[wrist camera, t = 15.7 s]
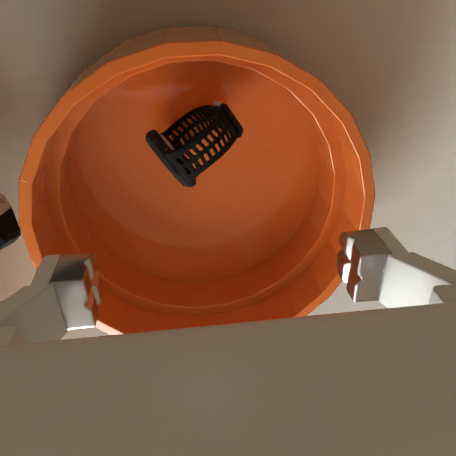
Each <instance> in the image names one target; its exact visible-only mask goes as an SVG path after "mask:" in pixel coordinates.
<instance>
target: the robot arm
mask: <svg viewBox="0 0 456 456" xmlns="http://www.w3.org/2000/svg"><path fill="white" fill-rule="evenodd" d="M339 243H340V245H341V247H342V249H341V250H340V252H339V253H338V255H337V268H338V273H339V276H340V278H341V280H342V281H344V282H345V283H347V291H348V293H349V294H350V296H351V298H352V300H353V302H363V301H377V300H379V302H380V303H382V304H383V305H385V306H386V307H388V308H386V309H375V310H365V311H355V312H345V313H334V314H324V315H314V316H304V317H294V318H283V319H273V320H263V321H253V322H242V323H232V324H222V325H211V326H201V327H191V328H181V329H170V330H160V331H150V332H140V333H129V334H119V335H109V336H99V337H88V338H78V339H68V340H60V339H61V338H62V337H63V336H64V335H65V334H66V333H67V332H68V331H67V330H73V329H82V328H90V327H95V326H96V321H97V317H98V313H99V311H98V307H97V305H99V304H100V303H101V299H102V280H101V276H100V274H99V273H98V272H97V271H96V267H97V259H96V255H95V254H94V252H87V253H72V254H56V255H46V256H44V257H43V259H42V261H41V264H40V266H39V268H38V270H37V272H36V274H35V276H34V278H33V280H32V283H31V285H30V286H25V287H23V288H22V289H20V290H19V291H17V292H16V293H14V294H13V295H11V296H10V297H8V298H7V299H5V300H4V301H2V302H1V303H0V456H456V270H454V269H451V268H449V267H446V266H444V265H442V264H439V263H437V262H435V261H432V260H430V259H428V258H425V257H423V256H420V255H418V254H416V253H413V252H411V253H408V251H407V250H406V249H405V248H404V247H403V246H402V244H401V243H400V242H399V241H398V240H397V238H396V237H395V236H394V235H393V234H392V233H391V231H390V230H389V229H388V228H386V227H382V228H374V229H366V230H356V231H347V232H341V235H340V239H339Z"/></svg>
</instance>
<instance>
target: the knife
mask: <svg viewBox="0 0 456 456" xmlns="http://www.w3.org/2000/svg"><path fill="white" fill-rule="evenodd" d="M20 235H21V233H20V228H19V226H18V223H17V220H16V218H15V215H14V213H13V210H12V207H11V206H10V204H9V203H8V201H7V199H6V198H5V196H4V195H2V194H1V193H0V250H1V249H3V248H5V247H6V246H8V245H10V244H12V243H14V242H15V241H16V240H17V239H18V237H19V236H20Z"/></svg>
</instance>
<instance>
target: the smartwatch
mask: <svg viewBox="0 0 456 456" xmlns="http://www.w3.org/2000/svg"><path fill="white" fill-rule="evenodd" d="M214 104H215V106H212V105H204V106H201V107H197V108H195V109H193V110H191V111H190V112H188V113H186V114H185V115H184V116H182V117H181V118H180V119H179V120H177V121H176V122H175V123H174V124H172V125H171V126H170V127H169V128H168V129H166V130H165V131H164V132H162V133H161V134H159V132H158V131H157V130H150V131H149V132H148V133H146V142H147V143H148V145H149V146H150V148H151V149H152V150H153V151H154V153H155V154H156V155H157V157H158V158H159V159H160V160H161V161H162V163H163V164H164V165H165V166H166V168H167V169H168V170H169V171H170V172H171V173H172V175H173V176H174V177H175V178H176V179H177V180H178V181H179V182H180V183H181V184H182V185H183V186H184V187H193V186H195V185H196V177H197V176H198V175H200V174H201V173H202V172H203V171H205V170H206V169H207V168H209V167H210V166H211V165H212V164H214V163H215V162H216V161H217V160H219V159H220V158H221V157H222V156H223V155H224V154H225V153H226V152H227V151H228V150H229V149H230V148H231V146H232V145H233V144H234V142H235V141H236V139H237V138H240V137H241V136H242V133H243V130H244V129H243V127H242V126H241V124H240V123H239V121H238V120H237V119H236V117H235V116H234V114H233V113H232V111H231V110H230V108H229V107H228V106H227V104H225V103H220V102H218V101H214ZM205 113H206V114H205ZM209 113H210V114H209ZM196 114H198V115H199V116H200V118H201V119H200V118H199V117H198V116H197V115H196ZM201 114H202V115H203V116H204V117H203V116H202V115H201ZM191 116H194V117H195V118H196V119H197V121H195V120H194V119H193V118H192V117H191ZM187 119H190V120H191V121H192V122H193V124H190V123H189V122H188V121H187ZM207 121H208V123H209V124H210V125H209V124H208V123H207ZM211 121H212V122H211ZM183 122H185V123H186V124H187V125H188V128H186V127H185V126H184V125H183V124H182V123H183ZM203 122H204V123H205V124H206V126H207V127H205V125H204V124H203ZM198 124H201V126H202V128H203V130H201V128H200V127H199V125H198ZM179 126H180V127H181V128H182V129H183V132H181V131H180V130H179V129H178V127H179ZM194 127H197V129H198V130H199V132H198V133H196V131H195V129H194ZM218 129H221V132H220V131H219V130H218ZM174 130H175V131H176V132H177V133H178V135H176V134H174V133H173V131H174ZM190 130H192V131H193V133H194V136H193V137H192V136H191V134H190V132H189V131H190ZM212 130H214V131H215V132H216V133H217V134H218V136H217V137H216V136H215V135H214V134H213V133H212ZM228 132H229V134H230V136H231V138H230V136H229V134H228ZM185 134H187V136H188V137H189V140H187V139H186V137H185ZM169 135H170V136H171V137H172V138H173V140H172V139H171V138H170V137H169ZM208 135H210V136H211V137H212V138H213V141H212V142H211V141H210V140H209V139H208V138H207V136H208ZM224 135H225V136H226V138H227V140H228V142H227V141H226V139H225V137H224ZM181 138H182V140H183V141H184V145H183V144H182V142H181V141H180V139H181ZM203 139H205V140H206V142H207V143H208V146H205V145H204V144H203V143H202V142H201V141H202V140H203ZM220 140H222V142H223V143H224V146H222V144H221V142H220ZM176 144H177V145H176ZM197 144H198V145H199V146H200V147H202V148H203V150H201V151H200V150H199V149H198V148H196V145H197ZM216 144H217V145H218V147H219V148H220V151H219V152H218V150H217V149H216V147H215V145H216ZM190 149H192V150H193V151H194V152H195V153H196V155H193V154H192V153H191V152H190V151H189V150H190ZM210 149H213V151H214V153H215V155H213V156H212V154H211V152H210ZM184 154H185V155H187V156H188V157H189V159H188V158H187V157H186V156H185V155H184ZM204 154H207V155H208V157H209V161H206V159H205V158H204ZM199 158H200V159H201V161H202V162H203V165H200V163H199V161H198V160H199ZM193 163H194V165H195V166H196V168H194V167H193V165H192V164H193Z"/></svg>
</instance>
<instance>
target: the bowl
mask: <svg viewBox="0 0 456 456" xmlns="http://www.w3.org/2000/svg"><path fill="white" fill-rule="evenodd" d="M214 101H218V102H220V103H225V104H227V106H228V107H229V108H230V110H231V111H232V113H233V114H234V116H235V117H236V119H237V120H238V121H239V123H240V124H241V126H242V127H243V129H244V130H243V133H242V136H241V137H240V138H237V139H236V141H235V142H234V144H233V145H232V146H231V148H230V149H229V150H228V151H227V152H226V153H225V154H224V155H223V156H222V157H221V158H220V159H219V160H217V161H216V162H215V163H214V164H212V165H211V166H210V167H209V168H207V169H206V170H205V171H203V172H202V173H201V174H200V175H198V176H197V177H196V185H195V186H193V187H184V186H183V185H182V184H181V183H180V182H179V181H178V180H177V179H176V178H175V177H174V176H173V175H172V173H171V172H170V171H169V170H168V169H167V168H166V166H165V165H164V164H163V163H162V161H161V160H160V159H159V158H158V157H157V155H156V154H155V153H154V151H153V150H152V149H151V148H150V146H149V145H148V143H147V142H146V133H148V132H149V131H150V130H157V131H158V132H159V134H161V133H162V132H164V131H165V130H166V129H168V128H169V127H170V126H171V125H172V124H174V123H175V122H176V121H177V120H179V119H180V118H181V117H182V116H184V115H185V114H186V113H188V112H190V111H191V110H193V109H195V108H197V107H201V106H204V105H212V106H215V104H214ZM205 114H206V113H205ZM209 114H210V113H209ZM196 115H197V116H198V117H199V118H200V116H199V115H198V114H196ZM201 115H202V114H201ZM202 116H203V115H202ZM191 117H192V118H193V119H194V120H195V121H197V119H196V118H195V117H194V116H191ZM203 117H204V116H203ZM200 119H201V118H200ZM187 121H188V122H189V123H190V124H193V122H192V121H191V120H190V119H187ZM211 122H212V121H211ZM207 123H208V121H207ZM182 124H183V125H184V126H185V127H186V128H188V125H187V124H186V123H185V122H183V123H182ZM203 124H204V125H205V127H207V126H206V124H205V123H204V122H203ZM208 124H209V123H208ZM198 125H199V127H200V128H201V130H203V128H202V126H201V124H198ZM209 125H210V124H209ZM178 129H179V130H180V131H181V132H183V129H182V128H181V127H180V126H179V127H178ZM194 129H195V131H196V133H198V132H199V130H198V129H197V127H194ZM218 130H219V131H220V132H221V129H218ZM189 132H190V134H191V136H192V137H193V136H194V133H193V131H192V130H190V131H189ZM173 133H174V134H176V135H178V133H177V132H176V131H175V130H174V131H173ZM212 133H213V134H214V135H215V136H216V137H217V136H218V134H217V133H216V132H215V131H214V130H212ZM228 134H229V132H228ZM229 136H230V134H229ZM169 137H170V138H171V139H172V140H173V138H172V137H171V136H170V135H169ZM185 137H186V139H187V140H189V137H188V136H187V134H185ZM224 137H225V139H226V141H227V142H228V140H227V138H226V136H225V135H224ZM207 138H208V139H209V140H210V141H211V142H212V141H213V138H212V137H211V136H210V135H208V136H207ZM230 138H231V136H230ZM180 141H181V142H182V144H183V145H184V141H183V140H182V138H181V139H180ZM201 142H202V143H203V144H204V145H205V146H208V143H207V142H206V140H205V139H203V140H202V141H201ZM220 142H221V144H222V146H224V143H223V142H222V140H220ZM176 145H177V144H176ZM215 147H216V149H217V150H218V152H219V151H220V148H219V147H218V145H217V144H216V145H215ZM196 148H198V149H199V150H200V151H201V150H203V148H202V147H200V146H199V145H198V144H197V145H196ZM189 151H190V152H191V153H192V154H193V155H196V153H195V152H194V151H193V150H192V149H190V150H189ZM210 152H211V154H212V156H213V155H215V153H214V151H213V149H210ZM184 155H185V154H184ZM185 156H186V157H187V158H188V159H189V157H188V156H187V155H185ZM204 158H205V159H206V161H209V157H208V155H207V154H204ZM198 161H199V163H200V165H203V162H202V161H201V159H200V158H199V160H198ZM192 165H193V167H194V168H196V166H195V165H194V163H193V164H192ZM374 200H375V189H374V180H373V172H372V164H371V156H370V152H369V150H368V148H367V146H366V144H365V141H364V139H363V137H362V135H361V133H360V131H359V128H358V126H357V124H356V122H355V120H354V117H353V115H352V114H351V112H350V111H349V110H348V109H347V108H346V107H345V106H344V105H343V104H342V103H341V102H340V100H339V99H338V98H337V97H336V96H335V95H334V94H333V93H332V92H331V91H330V89H329V88H328V87H327V86H326V85H325V84H324V83H323V82H322V81H321V80H320V79H319V78H318V77H316V76H315V75H313V74H312V73H311V72H309V71H308V70H307V69H305V68H304V67H302V66H301V65H300V64H298V63H297V62H296V61H294V60H293V59H291V58H290V57H289V56H287V55H285V54H283V53H282V52H280V51H278V50H277V49H275V48H273V47H272V46H270V45H268V44H266V43H265V42H263V41H261V40H260V39H258V38H256V37H253V36H251V35H247V34H243V33H239V32H235V31H231V30H227V29H223V28H219V27H215V26H209V25H208V26H187V27H166V28H165V29H164V28H162V29H159V30H156V31H153V32H150V33H147V34H144V35H142V36H139V37H136V38H133V39H130V40H127V41H124V42H122V43H120V44H119V45H117V46H116V47H114V48H113V49H112V50H110V51H109V52H108V53H106V54H105V55H104V56H102V57H101V58H99V59H98V60H97V61H95V62H94V63H93V64H91V65H90V66H89V67H87V68H86V69H85V70H84V71H83V72H82V74H81V75H80V76H79V77H78V78H77V79H76V81H75V82H74V83H73V84H72V85H71V86H70V87H69V89H68V90H67V91H66V92H65V93H64V94H63V96H62V97H61V98H60V100H59V101H58V102H57V104H56V105H55V106H54V108H53V109H52V111H51V112H50V113H49V115H48V116H47V117H46V119H45V120H44V121H43V123H42V124H41V125H40V127H39V128H38V130H37V131H36V132H35V134H34V136H33V138H32V141H31V144H30V147H29V150H28V153H27V156H26V159H25V163H24V166H23V169H22V172H21V175H20V178H19V224H20V228H21V231H22V234H23V237H24V240H25V243H26V246H27V249H28V252H29V255H30V258H31V261H32V263H33V265H34V266H35V268H36V269H37V270H38V268H39V266H40V264H41V261H42V259H43V257H44V256H46V255H56V254H72V253H87V252H94V254H95V255H96V259H97V267H96V271H97V272H98V273H99V274H100V276H101V280H102V299H101V303H100V304H99V305H97V307H98V311H99V313H98V317H97V321H96V326H95V327H96V328H98V329H100V330H102V331H104V332H106V333H108V334H110V335H119V334H129V333H140V332H150V331H160V330H170V329H181V328H191V327H201V326H211V325H222V324H232V323H242V322H253V321H263V320H273V319H283V318H294V317H304V316H307V315H308V314H309V313H310V312H312V311H313V310H314V309H315V308H316V307H318V306H319V305H320V304H321V303H323V302H324V301H325V300H326V299H328V298H329V296H331V294H332V293H333V292H334V291H335V289H336V288H337V287H338V286H339V284H340V283H341V282H342V280H341V278H340V276H339V273H338V268H337V255H338V253H339V252H340V250H341V249H342V247H341V245H340V243H339V239H340V235H341V232H347V231H356V230H366V229H370V223H371V217H372V211H373V206H374Z"/></svg>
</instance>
